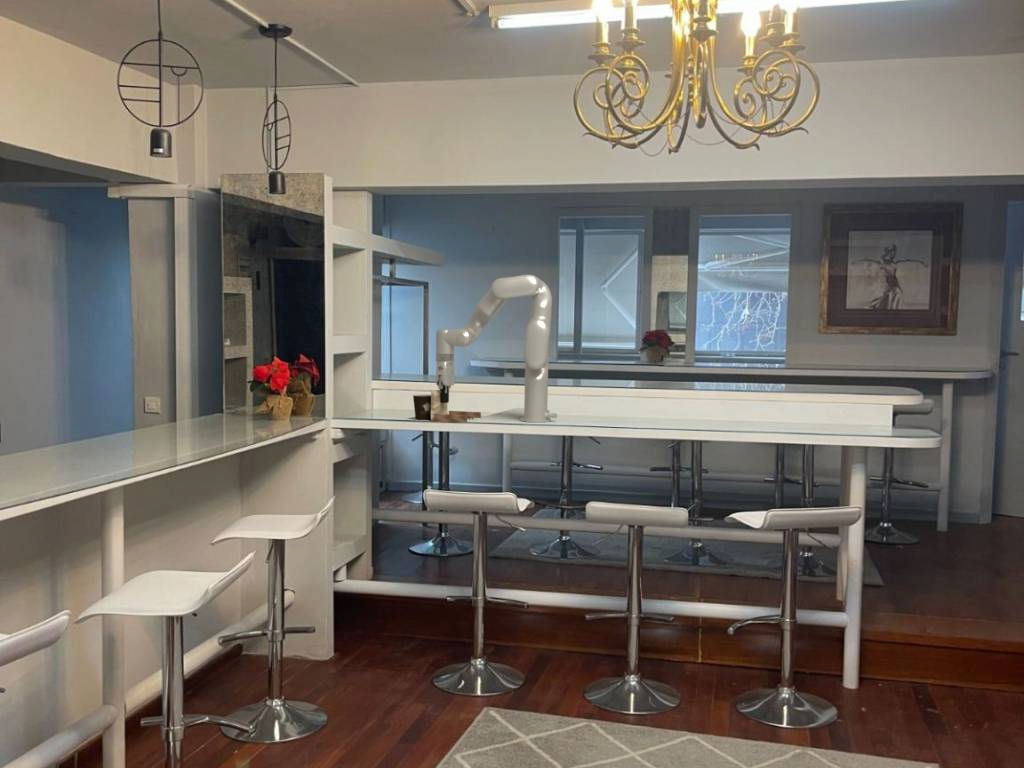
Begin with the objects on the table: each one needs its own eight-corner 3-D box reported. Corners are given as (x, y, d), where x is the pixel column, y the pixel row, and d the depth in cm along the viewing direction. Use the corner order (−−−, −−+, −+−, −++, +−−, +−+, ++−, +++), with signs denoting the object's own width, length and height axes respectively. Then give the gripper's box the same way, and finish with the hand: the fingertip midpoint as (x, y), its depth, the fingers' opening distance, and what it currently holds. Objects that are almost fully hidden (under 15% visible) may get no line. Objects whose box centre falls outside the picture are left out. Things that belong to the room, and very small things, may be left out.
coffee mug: (412, 420, 395) (412, 396, 394) (413, 418, 403) (413, 394, 403) (441, 420, 396) (441, 396, 395) (440, 418, 404) (441, 394, 404)
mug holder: (480, 419, 403) (480, 412, 403) (466, 423, 387) (466, 415, 387) (450, 417, 407) (450, 410, 407) (434, 421, 391) (434, 414, 391)
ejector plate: (447, 417, 406) (447, 389, 405) (434, 420, 393) (434, 391, 392) (444, 417, 406) (444, 389, 406) (430, 420, 393) (431, 391, 393)
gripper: (446, 359, 389) (445, 404, 390) (460, 358, 403) (459, 401, 404) (429, 358, 391) (428, 403, 393) (443, 357, 406) (443, 401, 407)
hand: (444, 402), depth 399 cm, fingers closed
